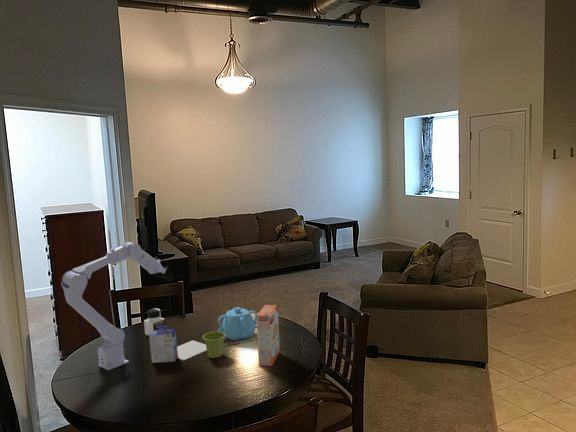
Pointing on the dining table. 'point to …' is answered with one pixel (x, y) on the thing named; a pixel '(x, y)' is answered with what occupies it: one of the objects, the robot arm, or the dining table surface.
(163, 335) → the ink cartridge box
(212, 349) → the plant pot
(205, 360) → the dining table surface
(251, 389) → the dining table surface
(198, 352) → the mat
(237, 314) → the light blue teapot
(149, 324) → the medicine bottle
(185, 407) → the dining table surface
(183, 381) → the dining table surface
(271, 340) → the cracker box
